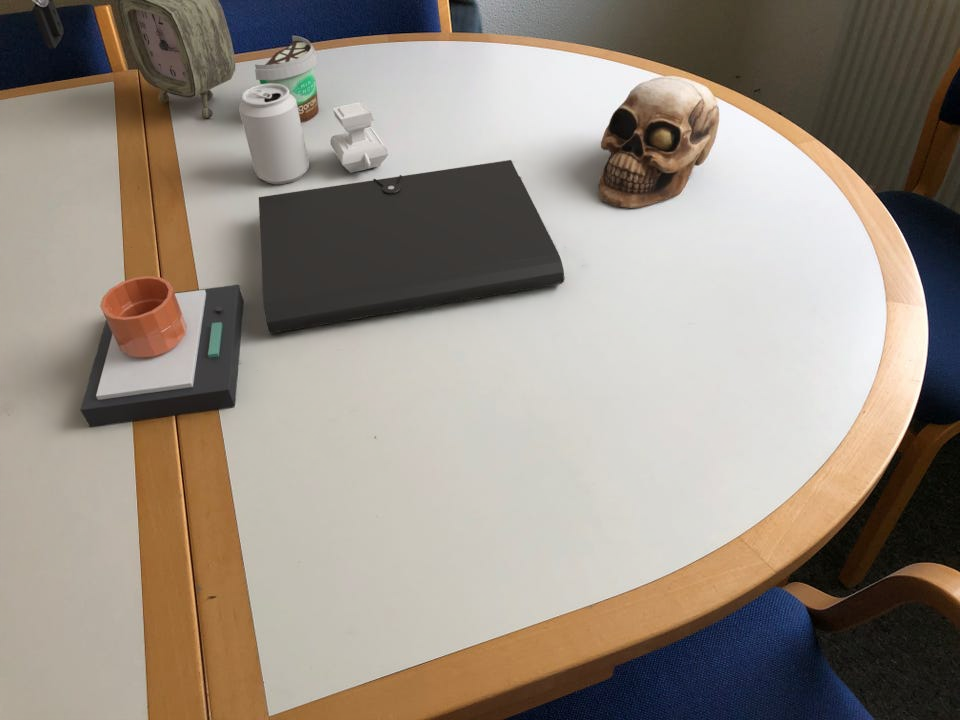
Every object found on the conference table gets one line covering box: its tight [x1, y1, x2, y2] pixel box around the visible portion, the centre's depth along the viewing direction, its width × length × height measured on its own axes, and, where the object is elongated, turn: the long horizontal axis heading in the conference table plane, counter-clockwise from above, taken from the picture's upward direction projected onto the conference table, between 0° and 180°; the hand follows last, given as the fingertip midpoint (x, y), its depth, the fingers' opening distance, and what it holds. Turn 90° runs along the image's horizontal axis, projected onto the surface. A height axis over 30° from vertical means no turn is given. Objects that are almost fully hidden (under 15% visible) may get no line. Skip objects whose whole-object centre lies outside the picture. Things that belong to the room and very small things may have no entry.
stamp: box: [330, 101, 389, 174], centre depth 110 cm, size 9×7×8 cm
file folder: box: [258, 159, 565, 334], centre depth 95 cm, size 33×4×24 cm
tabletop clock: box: [117, 0, 236, 119], centre depth 121 cm, size 14×9×25 cm, turn 55°
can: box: [238, 83, 310, 185], centre depth 108 cm, size 8×8×12 cm
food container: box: [254, 35, 320, 124], centre depth 122 cm, size 12×6×10 cm, turn 161°
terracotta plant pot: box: [99, 275, 187, 358], centre depth 80 cm, size 7×7×6 cm
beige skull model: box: [597, 75, 720, 209], centre depth 105 cm, size 16×17×13 cm
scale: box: [79, 284, 245, 428], centre depth 83 cm, size 14×17×3 cm
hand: (5, 46), depth 80 cm, fingers open, 9 cm apart
